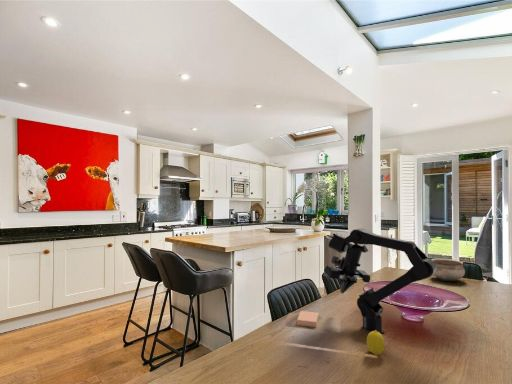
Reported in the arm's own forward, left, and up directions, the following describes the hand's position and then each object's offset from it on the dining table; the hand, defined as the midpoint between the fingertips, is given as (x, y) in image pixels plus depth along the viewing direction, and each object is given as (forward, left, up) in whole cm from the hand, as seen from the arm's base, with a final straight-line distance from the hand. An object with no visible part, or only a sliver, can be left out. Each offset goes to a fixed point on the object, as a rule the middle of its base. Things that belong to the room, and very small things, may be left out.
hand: (341, 292), depth 122 cm
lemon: (-25, +8, -12) cm, 29 cm away
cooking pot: (+25, -106, -12) cm, 110 cm away
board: (+4, +12, -12) cm, 18 cm away
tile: (+2, +11, -10) cm, 15 cm away
